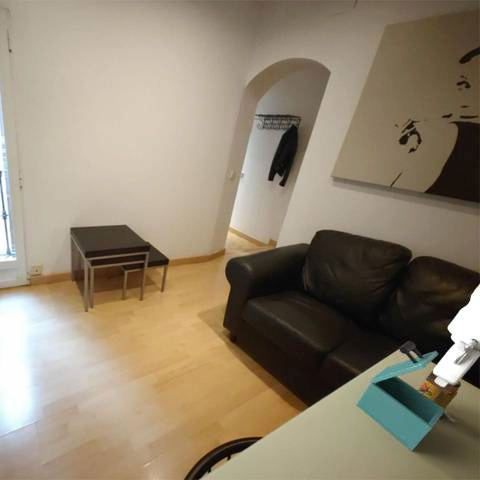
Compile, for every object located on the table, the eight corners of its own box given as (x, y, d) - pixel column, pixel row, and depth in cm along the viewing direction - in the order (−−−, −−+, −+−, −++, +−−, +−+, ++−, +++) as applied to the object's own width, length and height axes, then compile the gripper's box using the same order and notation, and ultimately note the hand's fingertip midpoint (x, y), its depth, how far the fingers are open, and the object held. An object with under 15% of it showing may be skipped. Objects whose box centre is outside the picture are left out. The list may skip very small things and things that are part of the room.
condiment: (404, 392, 80) (425, 364, 75) (433, 399, 79) (456, 370, 75) (423, 416, 73) (447, 386, 69) (455, 423, 73) (482, 393, 68)
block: (452, 387, 62) (462, 376, 60) (447, 394, 60) (457, 382, 58) (430, 374, 65) (439, 362, 64) (425, 379, 63) (434, 368, 61)
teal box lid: (438, 354, 66) (420, 335, 69) (424, 367, 61) (405, 346, 63) (389, 370, 75) (374, 352, 78) (372, 383, 70) (358, 364, 72)
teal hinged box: (426, 431, 69) (445, 409, 66) (411, 451, 64) (431, 428, 60) (373, 390, 79) (387, 369, 75) (356, 405, 73) (370, 383, 70)
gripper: (491, 360, 49) (448, 409, 54) (510, 332, 59) (472, 375, 65) (445, 336, 54) (410, 384, 59) (471, 314, 64) (439, 356, 69)
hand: (443, 379), depth 62 cm, fingers closed on block, 4 cm apart
